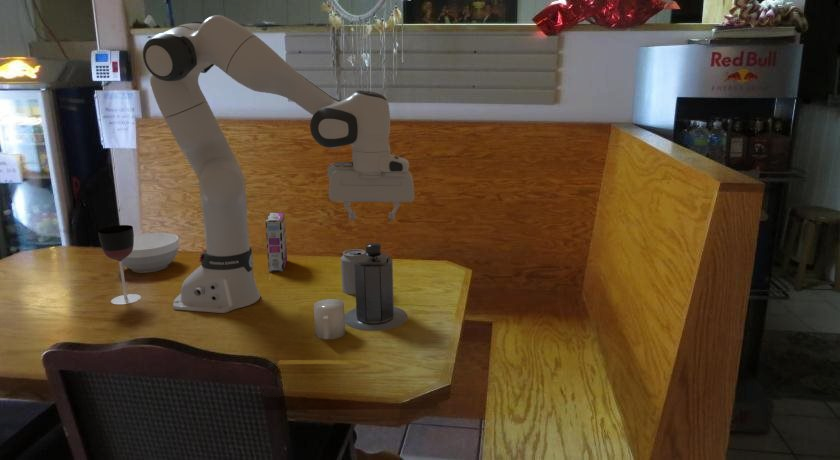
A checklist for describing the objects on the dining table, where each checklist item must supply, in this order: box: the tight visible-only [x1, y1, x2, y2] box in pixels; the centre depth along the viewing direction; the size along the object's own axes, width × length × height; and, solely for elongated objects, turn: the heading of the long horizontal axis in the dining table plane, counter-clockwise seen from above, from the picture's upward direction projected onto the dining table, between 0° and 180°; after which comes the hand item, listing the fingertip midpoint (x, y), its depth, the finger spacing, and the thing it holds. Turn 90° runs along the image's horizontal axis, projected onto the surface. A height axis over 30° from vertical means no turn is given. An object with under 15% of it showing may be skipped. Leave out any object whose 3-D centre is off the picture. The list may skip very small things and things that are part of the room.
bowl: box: [122, 232, 180, 274], centre depth 195 cm, size 19×19×9 cm
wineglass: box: [97, 224, 142, 305], centre depth 167 cm, size 8×9×20 cm
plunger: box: [365, 242, 382, 266], centre depth 151 cm, size 6×6×13 cm
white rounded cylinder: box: [313, 298, 346, 340], centre depth 144 cm, size 7×9×8 cm
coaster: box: [344, 306, 408, 332], centre depth 154 cm, size 16×16×1 cm
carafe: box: [355, 253, 395, 325], centre depth 153 cm, size 9×12×16 cm
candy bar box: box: [265, 212, 288, 273], centre depth 193 cm, size 11×5×16 cm, turn 6°
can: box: [340, 248, 366, 296], centre depth 171 cm, size 8×8×12 cm
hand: (372, 219), depth 147 cm, fingers open, 8 cm apart
